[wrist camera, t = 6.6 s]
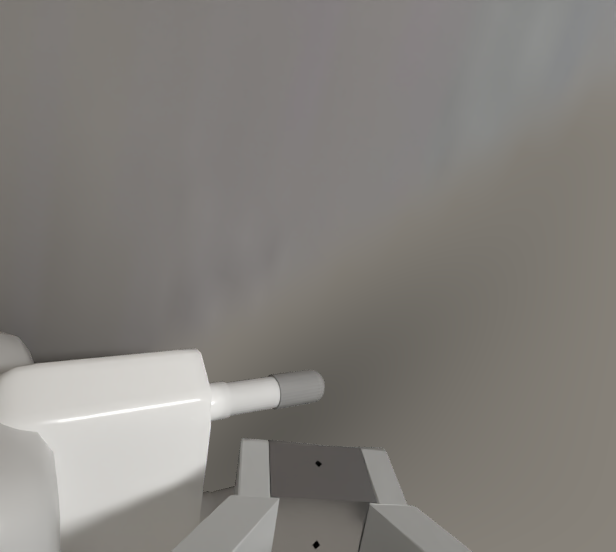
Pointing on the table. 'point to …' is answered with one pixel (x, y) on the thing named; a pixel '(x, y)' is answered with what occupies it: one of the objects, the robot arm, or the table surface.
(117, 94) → the table surface
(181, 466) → the power adapter
